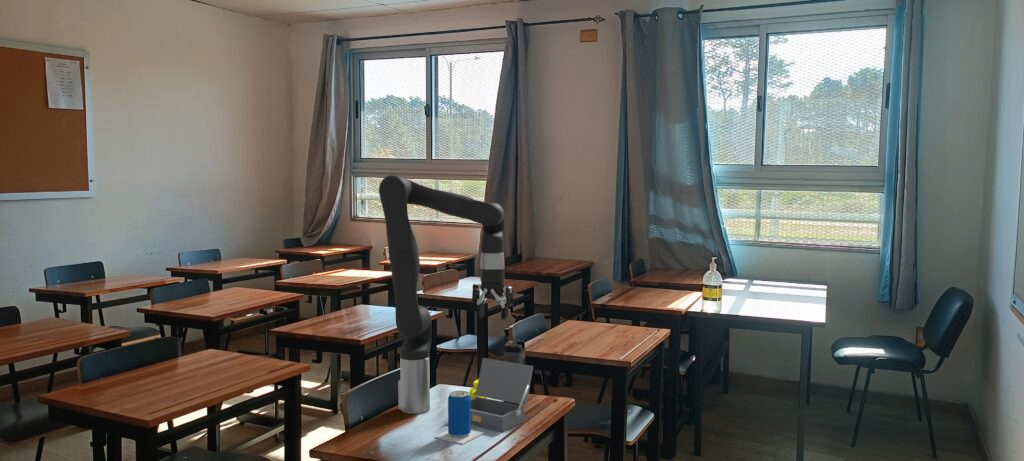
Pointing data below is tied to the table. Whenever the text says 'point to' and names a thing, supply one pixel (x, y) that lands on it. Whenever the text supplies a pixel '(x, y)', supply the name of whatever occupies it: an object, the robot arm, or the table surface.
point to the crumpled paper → (474, 390)
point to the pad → (460, 440)
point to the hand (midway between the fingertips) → (492, 317)
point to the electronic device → (514, 353)
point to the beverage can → (459, 414)
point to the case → (501, 395)
